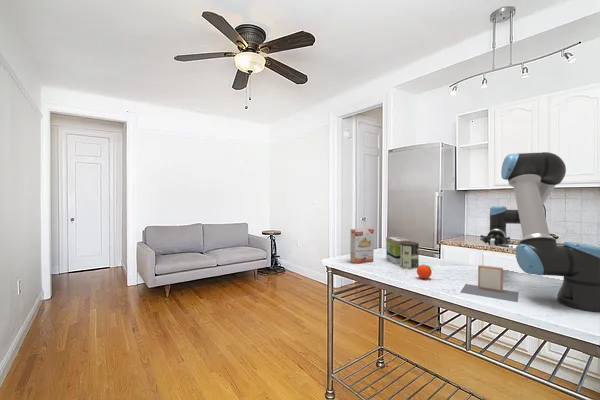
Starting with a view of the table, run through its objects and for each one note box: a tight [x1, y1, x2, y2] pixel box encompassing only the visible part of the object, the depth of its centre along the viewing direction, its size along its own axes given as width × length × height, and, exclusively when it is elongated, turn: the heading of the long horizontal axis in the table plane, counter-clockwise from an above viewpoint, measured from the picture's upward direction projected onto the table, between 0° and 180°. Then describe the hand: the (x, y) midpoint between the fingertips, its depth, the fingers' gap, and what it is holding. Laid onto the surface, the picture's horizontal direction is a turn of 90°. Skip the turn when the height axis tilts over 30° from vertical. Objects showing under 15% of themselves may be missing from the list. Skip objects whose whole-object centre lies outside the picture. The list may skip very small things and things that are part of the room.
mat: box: [459, 283, 519, 303], centre depth 128 cm, size 20×15×1 cm
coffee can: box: [399, 241, 420, 270], centre depth 175 cm, size 10×10×14 cm
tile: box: [477, 264, 504, 292], centre depth 131 cm, size 9×2×10 cm, turn 53°
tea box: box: [385, 236, 412, 265], centre depth 189 cm, size 15×10×15 cm, turn 6°
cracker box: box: [349, 227, 375, 264], centre depth 189 cm, size 14×6×21 cm, turn 113°
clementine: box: [416, 264, 432, 280], centre depth 151 cm, size 8×7×7 cm
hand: (491, 243), depth 138 cm, fingers closed
